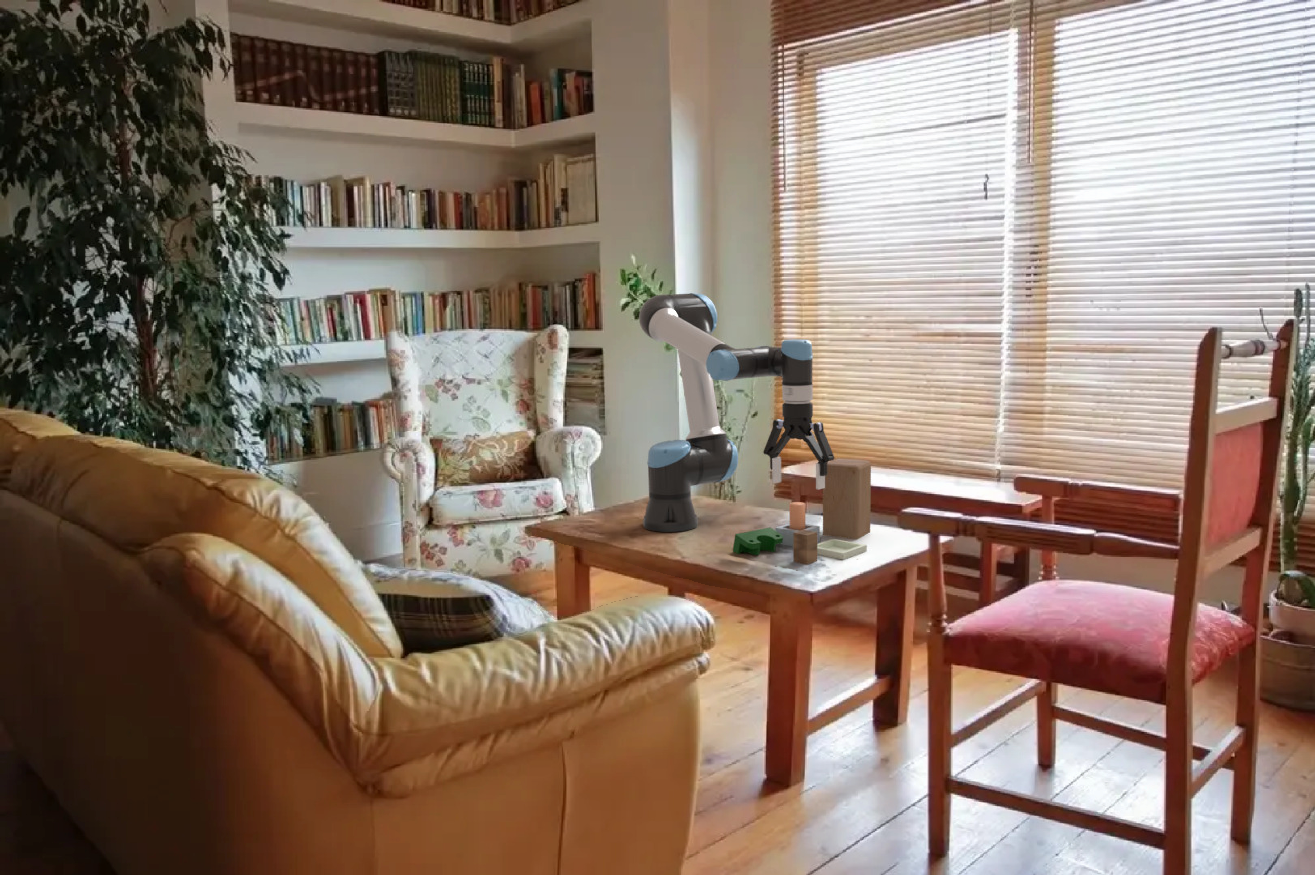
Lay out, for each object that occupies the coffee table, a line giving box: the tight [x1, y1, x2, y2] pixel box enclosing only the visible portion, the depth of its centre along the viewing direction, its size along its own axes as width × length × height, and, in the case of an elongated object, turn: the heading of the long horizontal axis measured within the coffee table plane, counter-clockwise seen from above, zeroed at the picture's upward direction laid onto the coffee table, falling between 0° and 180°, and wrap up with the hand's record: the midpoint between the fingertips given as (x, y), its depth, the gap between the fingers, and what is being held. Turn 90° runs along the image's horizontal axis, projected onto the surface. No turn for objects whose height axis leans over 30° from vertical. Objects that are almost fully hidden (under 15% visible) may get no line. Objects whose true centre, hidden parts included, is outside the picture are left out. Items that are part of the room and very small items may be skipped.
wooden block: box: [822, 457, 872, 540], centre depth 270 cm, size 10×10×20 cm
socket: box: [774, 522, 821, 547], centre depth 262 cm, size 8×8×5 cm
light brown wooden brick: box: [792, 530, 818, 565], centre depth 245 cm, size 4×4×8 cm
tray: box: [817, 538, 868, 560], centre depth 253 cm, size 10×10×2 cm
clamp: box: [732, 527, 783, 556], centre depth 255 cm, size 12×6×9 cm, turn 117°
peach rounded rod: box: [789, 501, 806, 531], centre depth 262 cm, size 4×4×10 cm
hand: (798, 485), depth 260 cm, fingers open, 13 cm apart
